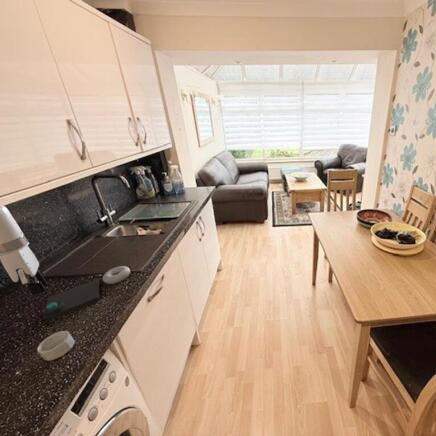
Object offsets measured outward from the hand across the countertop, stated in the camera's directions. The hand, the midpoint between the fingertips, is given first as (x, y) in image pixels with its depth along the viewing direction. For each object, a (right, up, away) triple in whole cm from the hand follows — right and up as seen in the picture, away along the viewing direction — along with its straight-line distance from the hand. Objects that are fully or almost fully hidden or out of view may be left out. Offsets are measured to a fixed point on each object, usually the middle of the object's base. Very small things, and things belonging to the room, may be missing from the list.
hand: (40, 289), depth 82 cm
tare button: (+1, -8, +4) cm, 9 cm away
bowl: (+16, -16, -9) cm, 24 cm away
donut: (+11, -2, +21) cm, 24 cm away
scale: (+2, -7, +10) cm, 13 cm away
